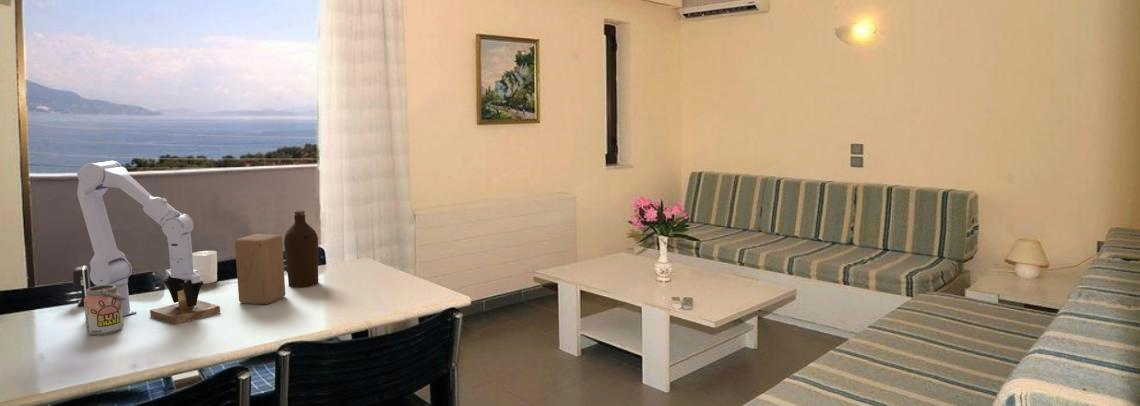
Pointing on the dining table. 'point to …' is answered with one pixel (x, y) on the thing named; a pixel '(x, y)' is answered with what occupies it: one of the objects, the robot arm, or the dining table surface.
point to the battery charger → (81, 281)
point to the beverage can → (103, 310)
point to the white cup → (206, 265)
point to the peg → (183, 301)
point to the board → (184, 312)
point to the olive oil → (301, 253)
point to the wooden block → (260, 268)
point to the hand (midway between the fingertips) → (184, 303)
